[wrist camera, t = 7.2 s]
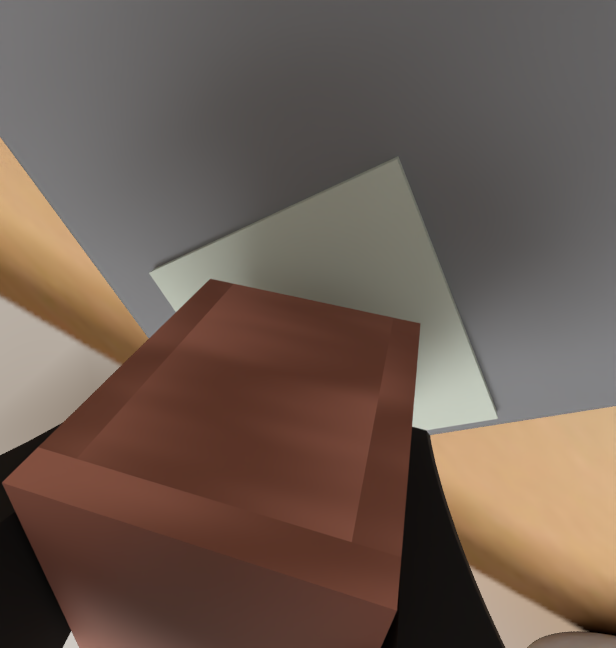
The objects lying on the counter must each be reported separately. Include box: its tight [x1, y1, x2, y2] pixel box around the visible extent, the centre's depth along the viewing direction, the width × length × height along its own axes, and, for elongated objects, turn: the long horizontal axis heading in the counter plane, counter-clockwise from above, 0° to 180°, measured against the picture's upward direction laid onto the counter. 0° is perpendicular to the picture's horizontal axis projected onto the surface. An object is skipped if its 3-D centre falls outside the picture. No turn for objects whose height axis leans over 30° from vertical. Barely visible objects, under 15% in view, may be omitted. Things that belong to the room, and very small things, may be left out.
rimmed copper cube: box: [2, 279, 421, 648], centre depth 9 cm, size 5×5×6 cm
